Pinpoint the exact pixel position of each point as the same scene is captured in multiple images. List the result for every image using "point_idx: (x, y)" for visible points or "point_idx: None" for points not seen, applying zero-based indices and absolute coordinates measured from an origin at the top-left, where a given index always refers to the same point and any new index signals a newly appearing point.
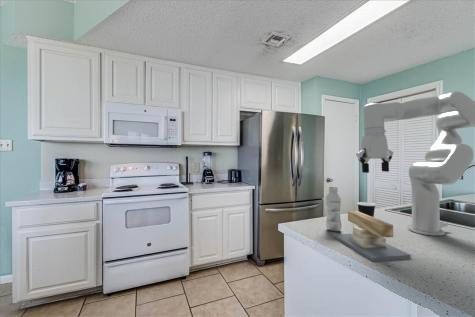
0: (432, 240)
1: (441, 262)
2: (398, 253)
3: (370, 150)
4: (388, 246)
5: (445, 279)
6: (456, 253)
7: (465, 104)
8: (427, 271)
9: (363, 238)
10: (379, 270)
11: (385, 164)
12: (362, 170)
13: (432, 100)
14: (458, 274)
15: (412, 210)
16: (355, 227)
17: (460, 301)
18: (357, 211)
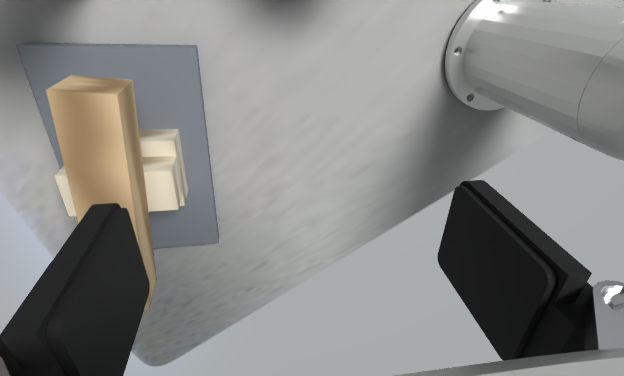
0: (413, 137)
1: (276, 256)
2: (189, 235)
3: None
4: (197, 192)
5: (210, 309)
6: (367, 220)
7: None
8: (202, 286)
9: None
10: None
11: (498, 315)
12: (85, 221)
13: None
14: (256, 295)
15: (535, 36)
16: (62, 186)
17: (170, 353)
18: (111, 112)
